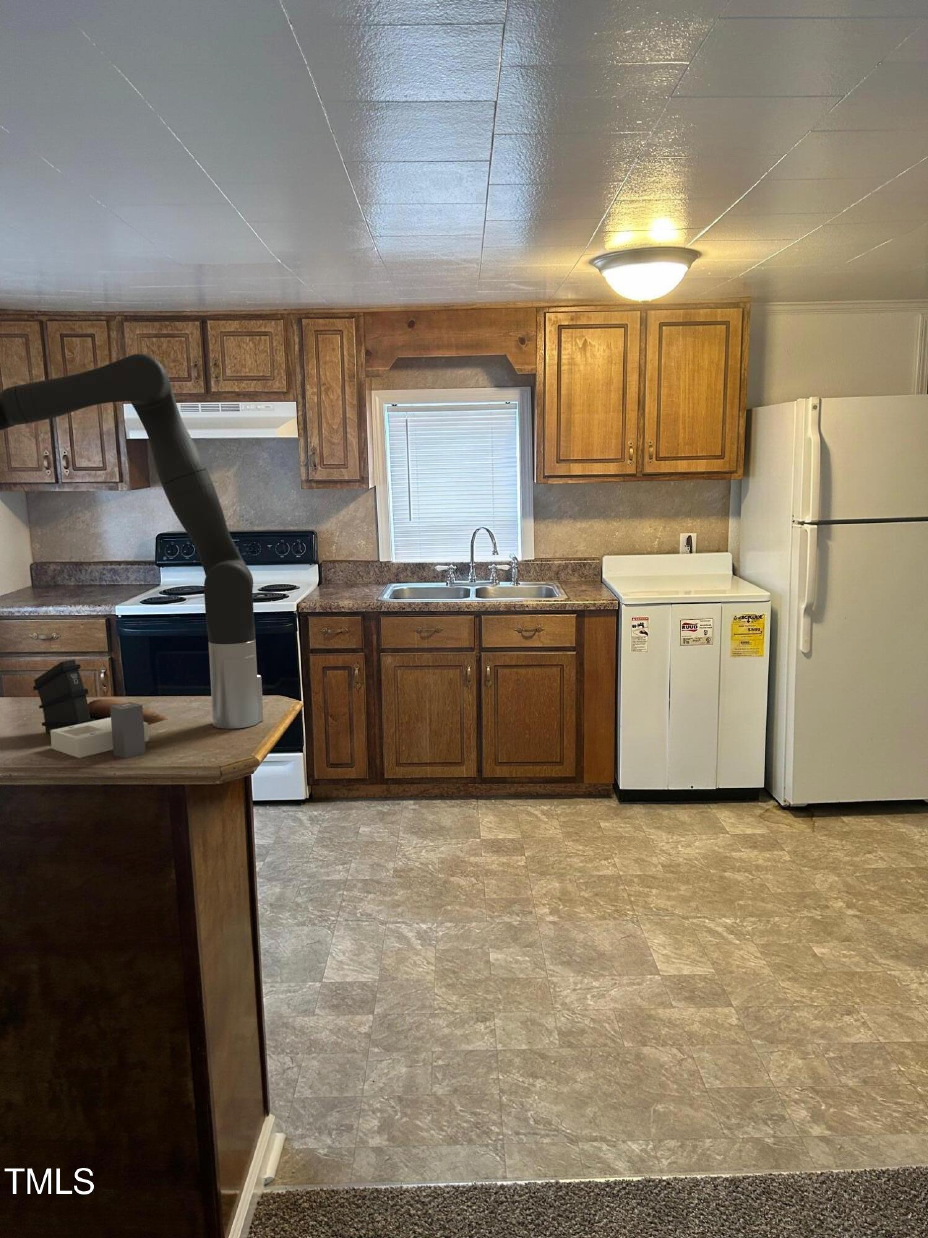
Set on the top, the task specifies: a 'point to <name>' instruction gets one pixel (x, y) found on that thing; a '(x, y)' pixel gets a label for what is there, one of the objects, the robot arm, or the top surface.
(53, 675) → the magazine
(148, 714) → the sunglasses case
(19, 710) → the top surface
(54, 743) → the switch board
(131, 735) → the grey rectangular block
